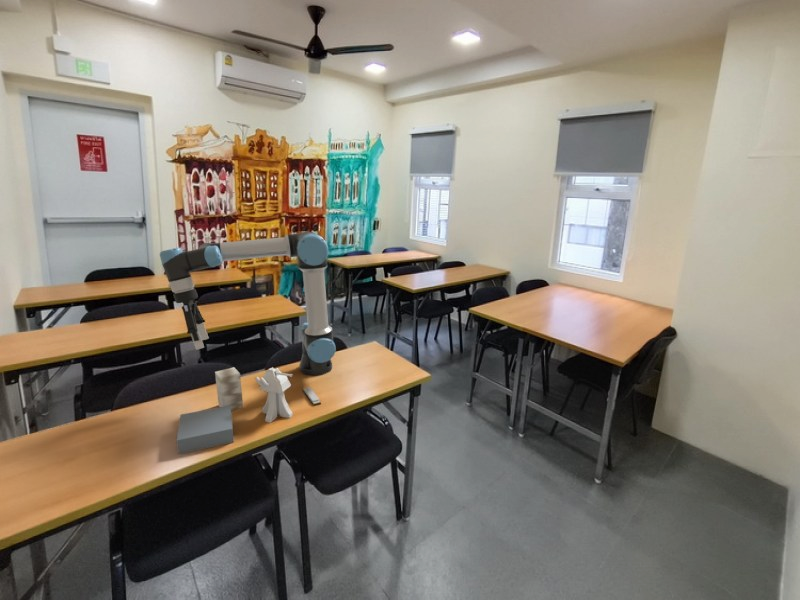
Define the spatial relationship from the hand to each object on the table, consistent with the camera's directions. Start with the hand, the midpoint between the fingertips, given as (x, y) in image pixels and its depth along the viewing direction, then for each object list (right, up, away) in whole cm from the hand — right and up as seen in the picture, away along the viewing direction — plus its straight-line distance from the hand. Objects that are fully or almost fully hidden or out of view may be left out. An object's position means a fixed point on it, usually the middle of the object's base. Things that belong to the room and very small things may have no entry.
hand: (202, 343), depth 148 cm
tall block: (+10, -24, +3) cm, 26 cm away
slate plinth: (+9, -29, -16) cm, 34 cm away
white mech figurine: (+30, -26, -2) cm, 40 cm away
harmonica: (+39, -23, +11) cm, 47 cm away
